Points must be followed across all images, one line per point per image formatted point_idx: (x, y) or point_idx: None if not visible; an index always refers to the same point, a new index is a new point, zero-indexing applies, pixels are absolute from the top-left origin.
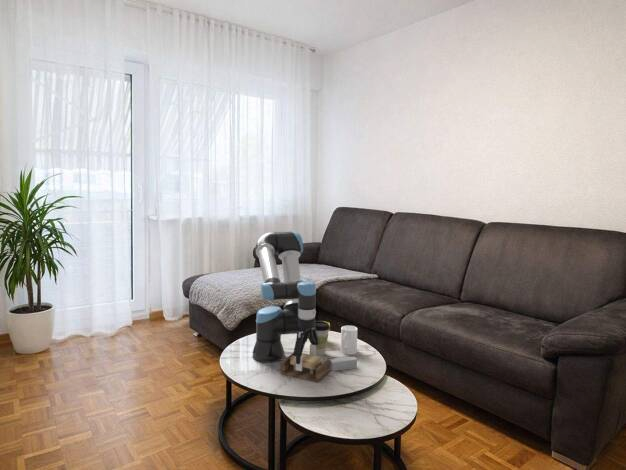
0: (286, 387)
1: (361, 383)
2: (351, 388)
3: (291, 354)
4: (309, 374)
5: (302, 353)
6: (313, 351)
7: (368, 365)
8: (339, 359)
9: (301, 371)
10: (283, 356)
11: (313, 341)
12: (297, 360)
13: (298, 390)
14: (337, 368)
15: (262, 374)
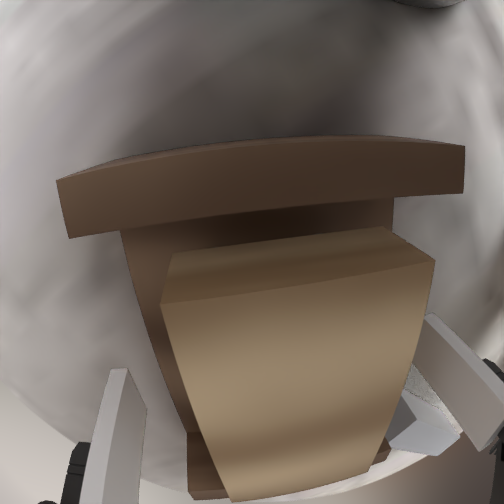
0: (8, 332)
1: (293, 494)
2: None
3: (396, 145)
4: None
5: (407, 343)
6: (453, 397)
7: None
8: (428, 434)
9: None
10: (427, 5)
11: (496, 490)
12: (80, 481)
13: (44, 395)
14: None
15: (26, 45)
